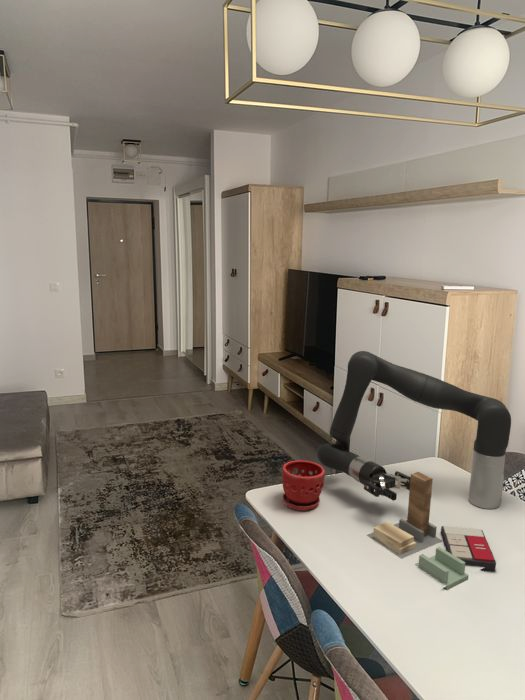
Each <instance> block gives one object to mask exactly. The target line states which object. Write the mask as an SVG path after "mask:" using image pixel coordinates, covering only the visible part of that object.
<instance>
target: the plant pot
mask: <svg viewBox="0 0 525 700" xmlns="http://www.w3.org/2000/svg"><path fill="white" fill-rule="evenodd" d="M293 469H297V472H295V473H293ZM310 472H311V473H312V474H310ZM325 472H326V470H325V468H324V467H323V466H322V465H321V464H319V463H316V462H313V461H309V460H303V459H302V460H299V459H297V460H291V461H288V462H286V463H284V464H283V466H282V469H281V479H282V480H281V482H282V488H283V492H284V494H282V501H283V503H284V504H285V505H286V506H287V507H289V508H291V509H294V510H298V511H308V510H309V511H310V510H312V509H315V508H316V507H318V505H319V504H320V501H321V498H320V495H321V493H322V491H323V489H324V483H325V477H326V476H325V474H326V473H325Z"/></svg>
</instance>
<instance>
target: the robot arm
mask: <svg viewBox="0 0 525 700" xmlns="http://www.w3.org/2000/svg"><path fill="white" fill-rule="evenodd" d="M372 381H374V382H376V383H381V384H382V385H385V386H388V387H390V388H391V389H392V390H394V391H395V392H398V393H399V394H401V395H402V396H404V397H405V398H407V399H409V400H410V401H411V400H412V401H414V402H415V403H418V404H420V405H424V406H426V407H429V408H433V409H438V410H447V411H452V412H453V411H454V412H456V413H460V414H463V415H465V416H467V417H470V418H471V419H474V420H475V421H477V429H476V437H475V439H474V441H473V452H472V460H471V461H472V462H471V463H472V464H471V472H470V479H469V489H468V499H467V500H468V501H469V503H470V504H472V505H473V506H475V507H477V508H481V509H487V510H490V509H491V510H494V509H497V508H499V507H500V504H501V503H502V500H503V499H502V498H503V489H504V480H505V474H504V469H505V461H506V452H507V449H508V446H509V441H510V435H511V428H512V427H511V426H512V415H511V413H510V411H509V410H508V407H506V405H505V404H504V402H502V401H501V400H499V399H496V398H493V397H489V396H485V395H481V394H478V393H474V392H471V391H468V390H466V389H463V388H460V387H458V386H456V385H454V384H451V383H449V382H447V381H445V380H442V379H439V378H437V377H434V376H432V375H429V374H426V373H424V372H420V371H417V370H415V369H411V368H407V367H404V366H401V365H397V364H395V363H392V362H390V361H388V360H386V359H383V358H381V357H379V356H377V355H375V354H373V353H372V352H370V351H366V350H359V351H357V352H355V353H353V354H352V355H351V356H350V358H349V361H348V363H347V372H346V381H345V386H344V388H343V389H344V390H343V393H342V396H341V398H340V400H339V404H338V406H337V409H336V410H335V413H334V416H333V418H332V422H331V425H330V428H329V435H330V437H331V438H332V439H334V440H335V443H323V444H322V445H320V446H319V447H318V449H317V452H316V457H317V459H318V461H319V462H320V463H321V464H322V465H323V466H325V467H327V468H329V469H332V470H335V471H338V472H343V473H344V474H345V475H347V476H349V477H351V478H352V479H354V480H355V481H356V482H358V483H359V484H361V485H363V490H365V491H366V492H367V493H369V494H371V495H372V496H374V497H376V498H378V497H380V496H381V497H385V498H387V499H389V500H392V501H396V500H397V495H398V494H397V492H395V491H393V490H391V489H399V490H400V488H402V489H406V490H408V491H410V478H411V476H409V475H407V474H404V473H402V472H400V471H397V470H395V471H394V474H391V473H388V472H387V471H386V469H385V467H383V465H380V464H378V463H376V462H374V461H373V460H370V459H368V458H365V457H363V456H361V455H358V454H357V453H355V452H351V451H350V450H351V449H350V447H351V436H352V432H353V429H354V427H355V424H356V421H357V418H358V413H359V411H360V407H361V404H362V400H363V398H364V395H365V394H366V391H367V389H368V387H369V385H370V384H371V382H372ZM396 483H397V484H396Z"/></svg>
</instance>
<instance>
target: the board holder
mask: <svg viewBox="0 0 525 700" xmlns="http://www.w3.org/2000/svg"><path fill="white" fill-rule="evenodd" d="M465 563H466V562H464V561H462V560H461V559H459V558H457V557H456V556H454V555H452V554H451V553H449V552H447V551H446V549H444V548H443V547H441V546H437V547H436V548H435V555H432V556H430V557H428V556H427V555H425V554H424V553H421V554H419V555H418V562H417V563H416V564H414V565H415V566H416V567H417V568H419V569H420V570H422V571H423V572H425V573H427V574H428V575H429V576H431V577H433V579H436V580H437V581H439V582H440V583H442V584H443V585H445V586H444V587H443V589H444V590H445V591H448V590H450V589H452V588H454V587H457V586H458V585H460V584H462V583H464V582H466V581H468V580H469V574H468V573H466V572H465V571H466V565H465Z"/></svg>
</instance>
